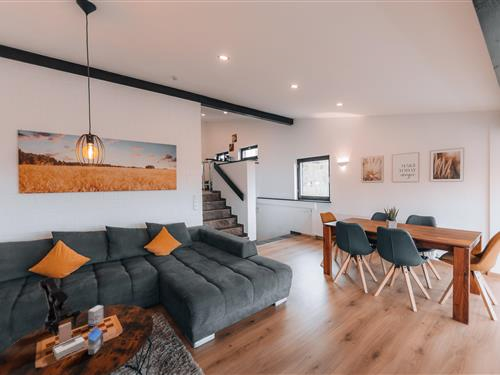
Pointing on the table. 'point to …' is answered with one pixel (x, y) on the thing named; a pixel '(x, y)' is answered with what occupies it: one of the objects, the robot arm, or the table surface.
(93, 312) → the ink box
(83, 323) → the table surface
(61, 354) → the dispenser
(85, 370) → the table surface
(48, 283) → the robot arm
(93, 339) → the label tape cartridge
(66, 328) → the pink rectangular block
